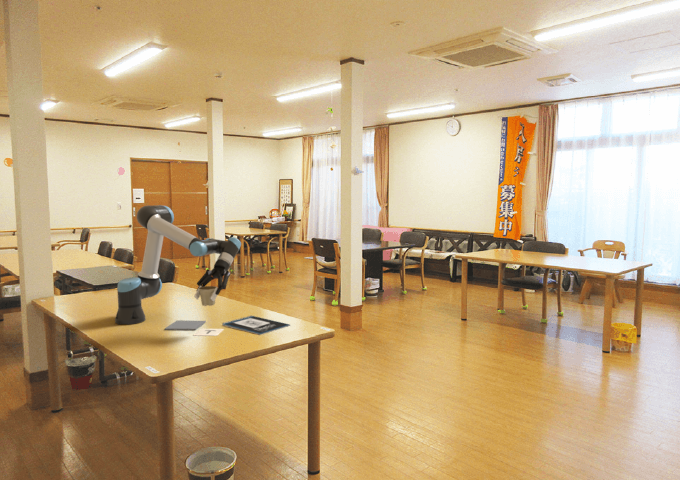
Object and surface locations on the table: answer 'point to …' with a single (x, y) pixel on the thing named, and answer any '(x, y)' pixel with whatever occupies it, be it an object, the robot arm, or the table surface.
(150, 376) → the table surface
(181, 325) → the rubber mat
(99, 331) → the table surface
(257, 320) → the sketchbook
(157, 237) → the robot arm
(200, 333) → the letter tile
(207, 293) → the flower pot
